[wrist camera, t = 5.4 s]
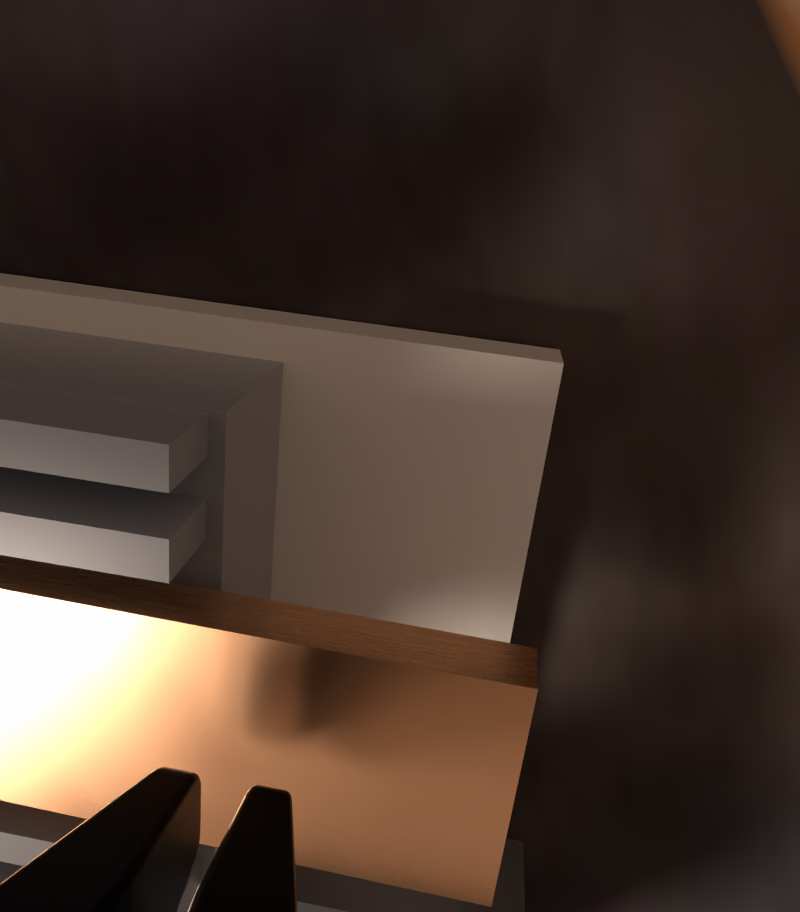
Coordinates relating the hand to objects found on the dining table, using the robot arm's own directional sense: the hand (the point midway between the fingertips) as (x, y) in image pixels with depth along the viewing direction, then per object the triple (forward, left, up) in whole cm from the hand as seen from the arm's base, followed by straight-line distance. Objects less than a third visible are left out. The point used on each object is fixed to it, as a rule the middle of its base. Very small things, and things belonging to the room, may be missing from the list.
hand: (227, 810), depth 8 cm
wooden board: (-4, 0, -2) cm, 4 cm away
